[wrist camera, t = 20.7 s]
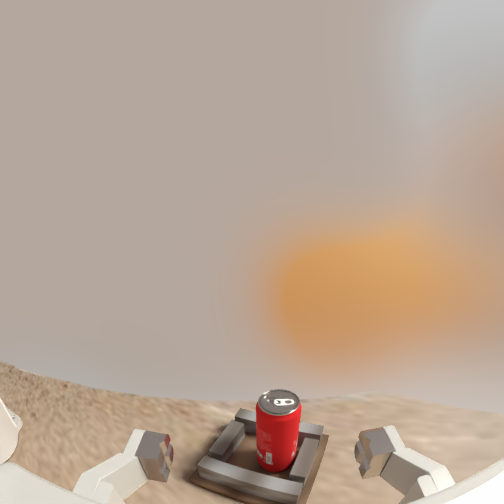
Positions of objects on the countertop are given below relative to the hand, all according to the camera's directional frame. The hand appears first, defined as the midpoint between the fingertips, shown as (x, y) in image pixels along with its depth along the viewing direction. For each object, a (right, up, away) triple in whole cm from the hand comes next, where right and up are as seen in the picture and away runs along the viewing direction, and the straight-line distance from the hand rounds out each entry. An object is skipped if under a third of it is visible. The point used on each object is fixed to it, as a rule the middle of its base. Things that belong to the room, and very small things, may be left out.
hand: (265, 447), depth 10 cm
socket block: (+1, -21, +22) cm, 31 cm away
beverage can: (+3, -21, +22) cm, 30 cm away
